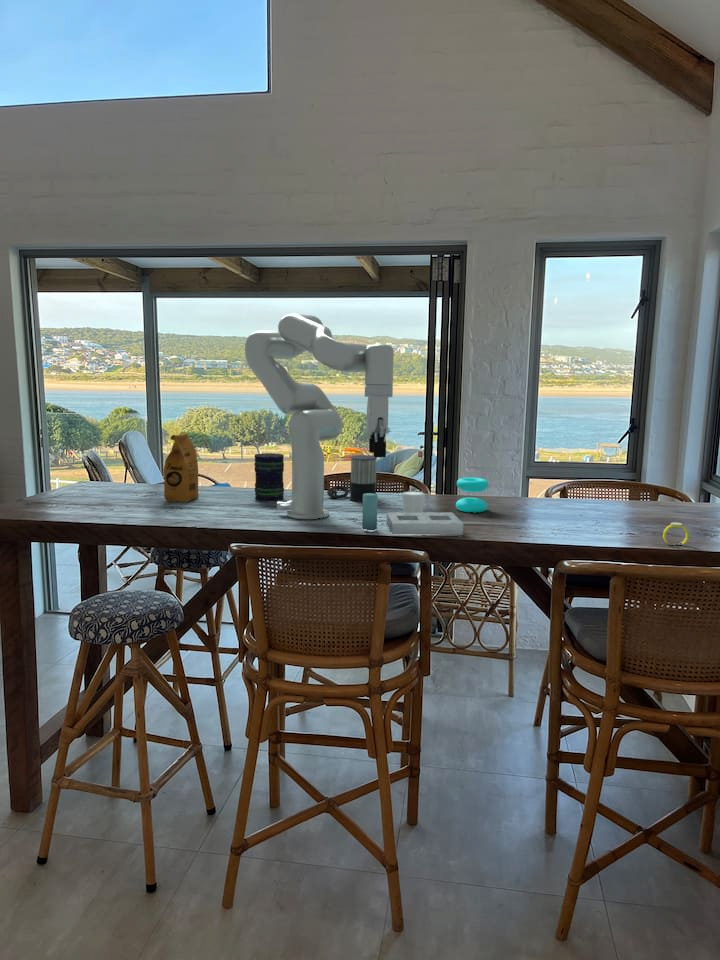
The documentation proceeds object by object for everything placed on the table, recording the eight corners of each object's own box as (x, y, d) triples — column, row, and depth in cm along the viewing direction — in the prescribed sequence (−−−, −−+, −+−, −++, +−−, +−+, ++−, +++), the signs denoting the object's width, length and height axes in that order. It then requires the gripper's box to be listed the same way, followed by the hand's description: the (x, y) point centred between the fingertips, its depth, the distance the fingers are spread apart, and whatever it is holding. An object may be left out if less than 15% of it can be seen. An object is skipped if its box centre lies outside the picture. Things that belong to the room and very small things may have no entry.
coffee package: (159, 502, 219) (156, 434, 215) (175, 495, 231) (173, 431, 227) (188, 503, 217) (186, 435, 214) (203, 496, 229) (201, 432, 226)
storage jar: (254, 496, 231) (253, 453, 229) (283, 495, 233) (282, 453, 230) (255, 502, 221) (254, 457, 219) (285, 501, 223) (285, 456, 221)
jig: (392, 536, 179) (392, 523, 178) (386, 524, 192) (386, 512, 192) (462, 536, 180) (463, 523, 180) (451, 524, 194) (452, 512, 193)
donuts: (454, 476, 218) (485, 477, 218) (453, 506, 219) (483, 507, 219) (459, 481, 208) (491, 482, 208) (458, 513, 209) (490, 513, 209)
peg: (362, 532, 183) (363, 496, 181) (361, 528, 187) (362, 493, 185) (377, 532, 183) (378, 496, 182) (376, 528, 187) (376, 493, 186)
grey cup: (423, 518, 201) (423, 495, 200) (400, 517, 202) (400, 494, 201) (425, 513, 208) (426, 491, 206) (403, 512, 209) (404, 490, 208)
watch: (664, 547, 173) (665, 524, 172) (661, 544, 176) (661, 522, 175) (689, 547, 172) (689, 524, 172) (685, 544, 175) (686, 521, 174)
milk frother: (379, 502, 225) (380, 458, 223) (334, 503, 221) (334, 459, 219) (368, 494, 239) (369, 452, 236) (324, 495, 235) (325, 453, 232)
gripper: (361, 390, 188) (360, 450, 191) (368, 392, 171) (367, 459, 174) (387, 390, 189) (386, 450, 192) (397, 392, 172) (395, 459, 175)
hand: (377, 454), depth 183 cm, fingers open, 9 cm apart
